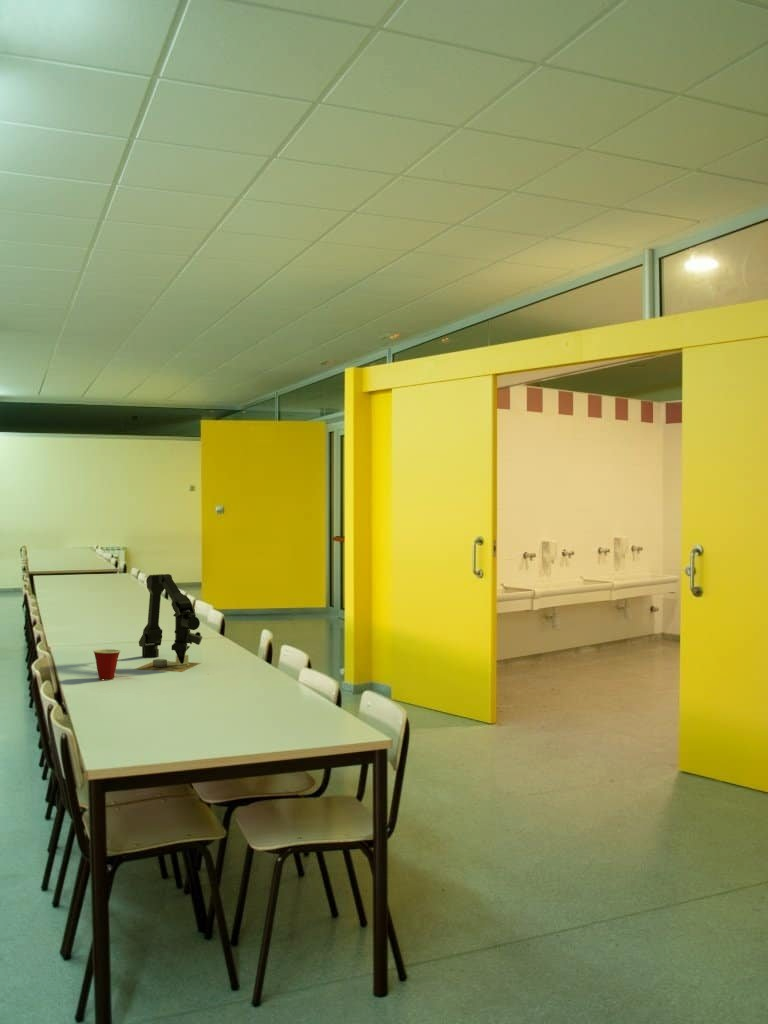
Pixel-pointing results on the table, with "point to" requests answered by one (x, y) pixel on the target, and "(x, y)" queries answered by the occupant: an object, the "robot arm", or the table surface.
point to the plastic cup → (106, 662)
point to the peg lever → (164, 662)
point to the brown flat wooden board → (168, 667)
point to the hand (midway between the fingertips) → (182, 663)
